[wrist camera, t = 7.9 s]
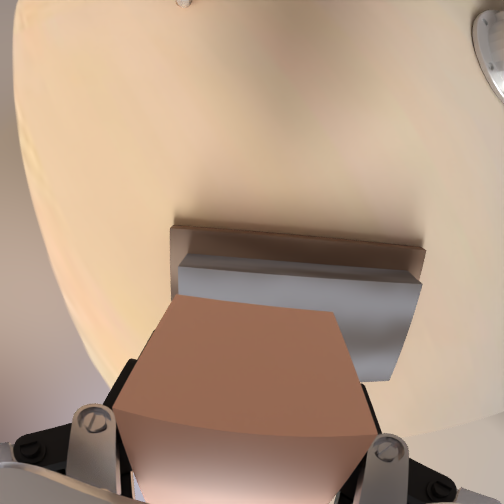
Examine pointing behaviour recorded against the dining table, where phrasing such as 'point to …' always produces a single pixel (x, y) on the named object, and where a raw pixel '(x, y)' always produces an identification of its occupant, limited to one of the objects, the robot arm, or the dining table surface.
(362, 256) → the board
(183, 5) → the unicorn figurine
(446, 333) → the dining table surface
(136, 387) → the terracotta cube
